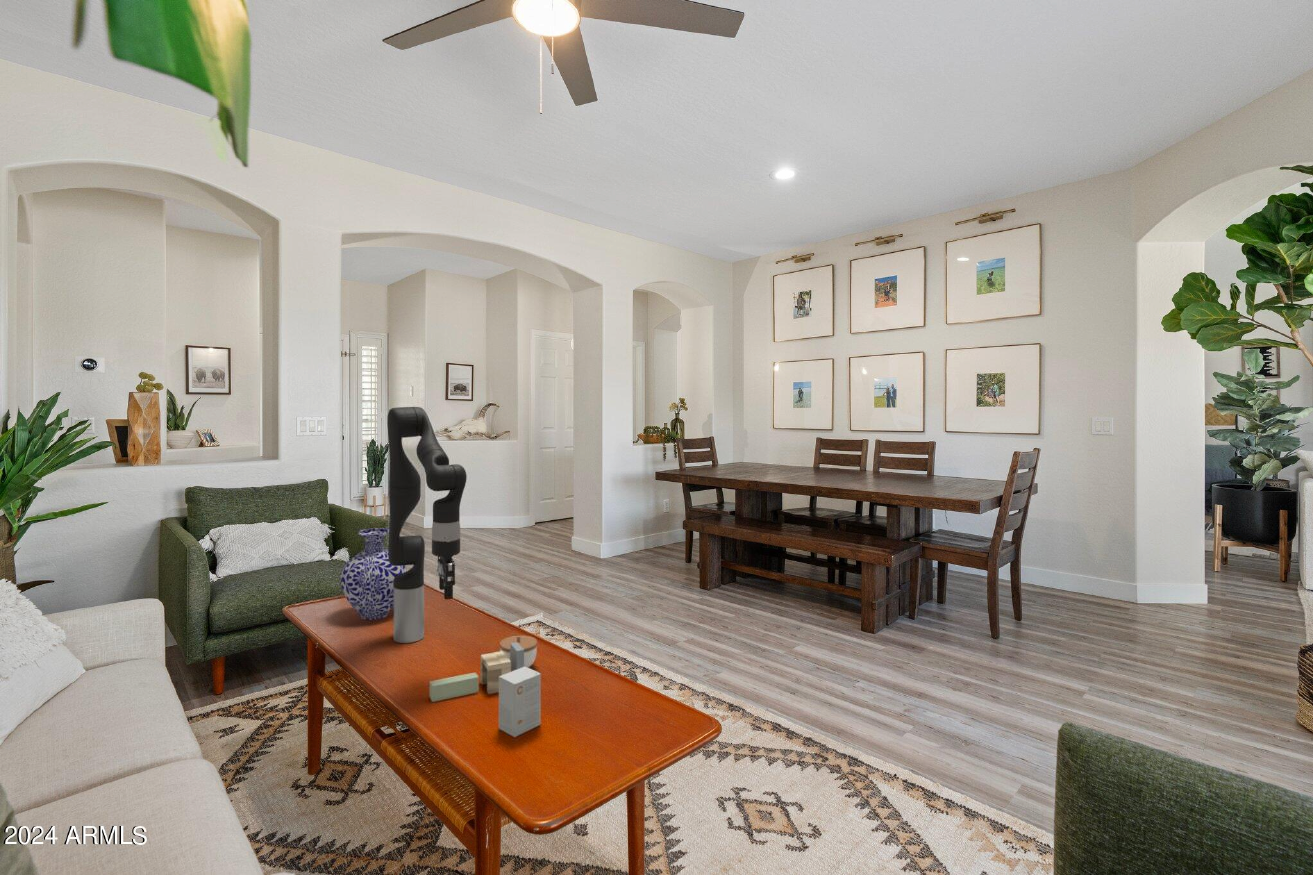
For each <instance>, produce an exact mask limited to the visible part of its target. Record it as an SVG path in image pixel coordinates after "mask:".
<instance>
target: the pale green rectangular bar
mask: <svg viewBox="0 0 1313 875" xmlns="http://www.w3.org/2000/svg"><path fill="white" fill-rule="evenodd" d="M479 678H480V677H479V675H478V674H477V672H471V673H465V674H460V675H455V676H451V677H450V676H449V677H445V678H440V679H435V680H429V698H430V700H431V702H432V703H433V702H438V701H443V700H449V699H452V698H458V697H462V696H468V695H471V694H472V695H473V694H476V693H480V692H479V690H480V688H479V686H480V683H479V682H480V679H479Z"/></svg>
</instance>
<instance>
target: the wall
mask: <svg viewBox="0 0 1313 875" xmlns="http://www.w3.org/2000/svg"><path fill="white" fill-rule="evenodd" d="M510 661H511V672H512V671H514V670H517V669H520V668H522V667H524V649H523V648H522V647H521V646H520V645H519V644H518V642H516V643H510Z"/></svg>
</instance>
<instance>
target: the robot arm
mask: <svg viewBox="0 0 1313 875" xmlns="http://www.w3.org/2000/svg"><path fill="white" fill-rule="evenodd" d="M386 419H387V422H386V423H387V437H388V451H389V473H388V474H389V477H388V479H389V480H388V495H389V496H388V500H389V501H388V502H389V525H388V526H389V528H388V529H389V534H388V546H387V550H388V559H389V563H390V564H391V565H392V566H403V565H405V566H412V567H411V568H409V569H408V570H407V571H406V572H404V573H402V574H400V575H398V576H396V577H395V578H394V580H393V608H392V609H393V618H392V619H393V629H392V630H393V632H392V633H393V635H392V636H393V641H394V642H396V643H401V644H409V643H415V642H418V641H421V640H422V639H424V638H425V578H424V576H425V575H424V574H425V571H424V570H425V552H426V551H425V550H426V545H425V544H426V543H425V538H424V537H423V536H422V535H405V536H404V535H403V536H401V531H402V528H403V526H404V525H405V523H406V522H407V519H408V518H409V517H410V515H411V514H412V513H413V511H414V510H415V508H416V507H417V506H418V504H419V502H420V499H421V496H422V495H421V492H422V491H421V490H422V489H421V488H422V482H421V480H422V479H421V476H420V473H419V471H418V470H417V469H416V467H415V466H414V465H413V463H412V462H411V460H410V459H409V458H408V456H407V454H406V452H405V450H404V447H403V439H404V438H416V437H420V439H419V441H418V443H417V445H416V456H417V458H418V461H419V462H420V463H421V466H422V467H423V469H424V472H425V483H426V485H427V487H428V489H429V490H430V491H433V492H444V491H445V492H448V493H447V494H446V496H444V497H441V498H439V499H436V500H435V501H433V503H432V527H431V554H432V555H433V556H435V557H437V575H438V577H439V579H438V580H439V581H438V582H439V583H438V588H439V590H441V591H443V598H444V599H445V600H446V601H447V600H452V599H453V598H454V586H455V585H456V564H455V560H454V559H453V557H454V556H457V555H459V554H460V553H461V525H460V524H461V521H460V520H461V519H460V515H461V514H460V511H461V510H460V506H461V502H462V497H463V494H464V490H465V487H466V484H467V472H466V469H465V468H464V467H463V466H462V465H461V464H458V463H456V464H455V463H454V464H450V460H449V457H448V455H447V453H446V452H445V450H444V449H443V447H442V446H441V445H440V442H439V441H438V439H437V436H436V434H435V431H434V428H433V426H432V422H431V421H430V419H429V416H428V413H427V412H426V410H425V409H424V408H423V407H420V406H402V407H401V406H400V407H392V408H390V409H389V410H388V413H387V418H386ZM448 579H450V580H448Z"/></svg>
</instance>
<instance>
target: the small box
mask: <svg viewBox="0 0 1313 875" xmlns="http://www.w3.org/2000/svg"><path fill="white" fill-rule="evenodd" d="M541 691H542V673H540V672H539V671H536V670H534V669H532V668H530V667H529V668H527V667H522V668H520V669H517V670H514V671H512V672H509V673H507V674H504V675H502V676H499V692H498V729H499V730H501V731H502V732H504V733H506V734H508V735H510V736H511V737H513V738H516V737H518V736H520V735H522V734H525V733H526V732H528V731H530V730H532V729H534V728H537V727H538V726H541V724H542V723H541V721H542V720H541V716H542V714H541V712H542V710H541V709H542V708H541V707H542V706H541V705H542V702H541V700H542V697H541V696H542V694H541V693H542V692H541Z"/></svg>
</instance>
